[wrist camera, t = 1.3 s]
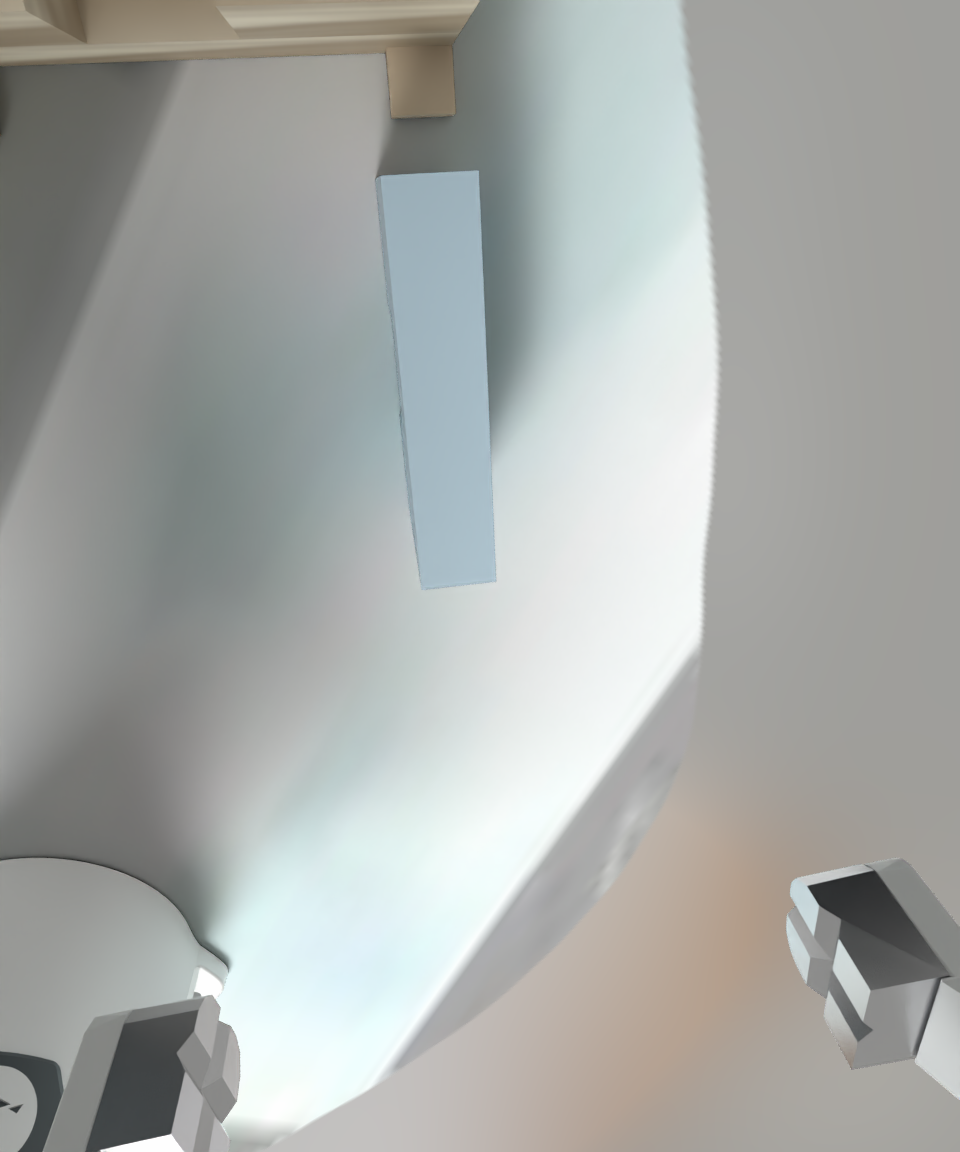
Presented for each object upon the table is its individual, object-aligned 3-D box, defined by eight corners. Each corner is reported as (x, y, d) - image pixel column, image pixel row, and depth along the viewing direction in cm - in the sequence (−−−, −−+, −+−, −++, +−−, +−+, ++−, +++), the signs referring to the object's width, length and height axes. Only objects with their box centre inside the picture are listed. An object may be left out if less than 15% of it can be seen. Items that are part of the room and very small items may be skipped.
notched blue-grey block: (468, 502, 30) (496, 581, 24) (409, 508, 30) (421, 590, 24) (448, 175, 24) (478, 170, 18) (374, 179, 24) (380, 175, 18)
